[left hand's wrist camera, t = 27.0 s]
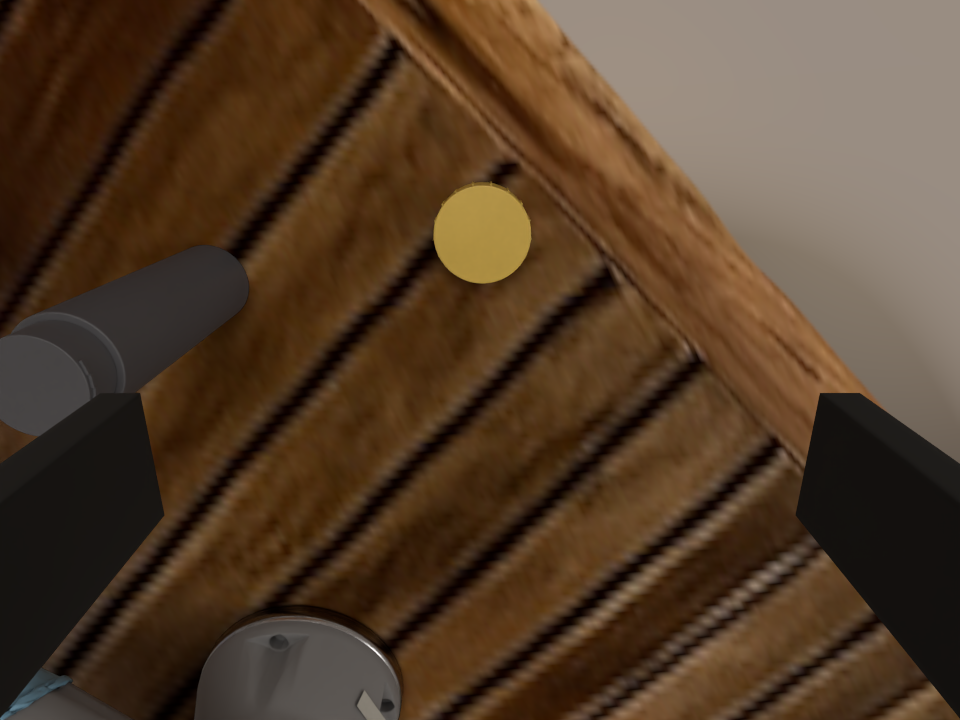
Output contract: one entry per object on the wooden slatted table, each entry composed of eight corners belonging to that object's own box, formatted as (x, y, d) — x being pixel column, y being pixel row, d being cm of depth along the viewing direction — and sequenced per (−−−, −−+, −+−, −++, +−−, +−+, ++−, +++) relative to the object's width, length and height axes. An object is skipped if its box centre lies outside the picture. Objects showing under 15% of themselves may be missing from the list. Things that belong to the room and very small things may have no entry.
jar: (195, 330, 40) (16, 459, 25) (157, 260, 39) (-60, 352, 23) (262, 305, 40) (121, 421, 24) (226, 233, 38) (51, 308, 22)
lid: (515, 168, 37) (517, 171, 35) (540, 261, 39) (543, 269, 37) (422, 196, 37) (419, 200, 35) (451, 287, 39) (449, 296, 37)
